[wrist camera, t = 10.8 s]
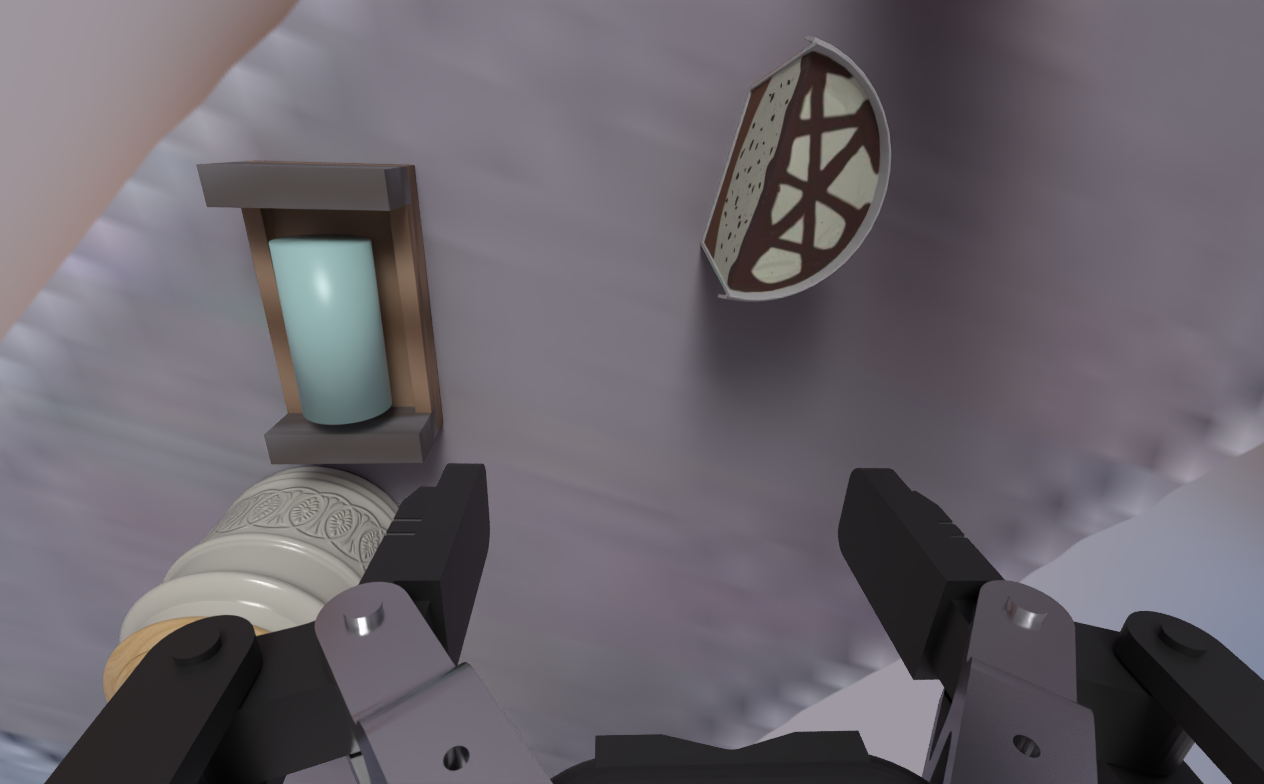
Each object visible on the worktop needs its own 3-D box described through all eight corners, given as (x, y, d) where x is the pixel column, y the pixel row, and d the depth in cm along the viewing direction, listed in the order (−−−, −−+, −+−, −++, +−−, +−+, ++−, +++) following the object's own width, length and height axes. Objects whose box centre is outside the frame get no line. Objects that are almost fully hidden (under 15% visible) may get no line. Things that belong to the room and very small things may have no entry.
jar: (206, 550, 44) (-16, 789, 28) (286, 428, 41) (85, 620, 24) (363, 625, 48) (248, 873, 32) (449, 520, 44) (367, 738, 28)
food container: (780, 290, 39) (838, 336, 30) (693, 266, 38) (725, 307, 29) (855, 90, 34) (951, 73, 25) (759, 58, 33) (822, 27, 24)
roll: (251, 239, 31) (296, 252, 29) (341, 231, 35) (389, 242, 32) (286, 407, 35) (329, 432, 33) (364, 384, 39) (408, 405, 36)
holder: (255, 160, 34) (196, 164, 29) (414, 164, 34) (384, 169, 29) (311, 423, 40) (271, 464, 35) (443, 423, 41) (422, 462, 36)
